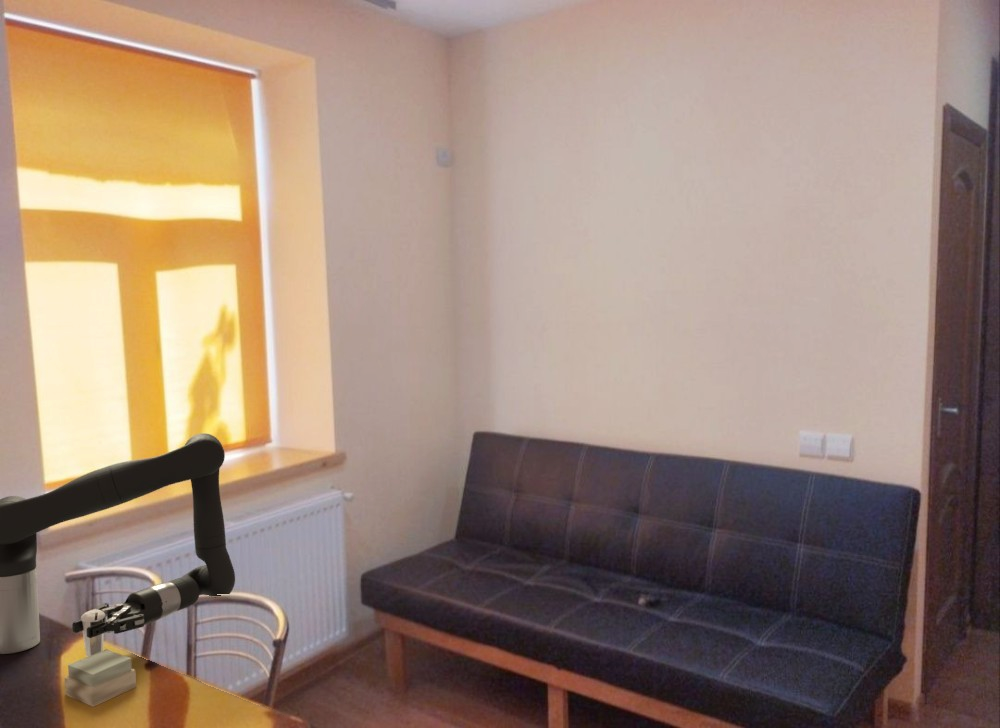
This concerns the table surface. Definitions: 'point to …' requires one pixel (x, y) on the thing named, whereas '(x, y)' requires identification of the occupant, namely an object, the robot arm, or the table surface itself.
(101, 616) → the milkshake
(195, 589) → the robot arm
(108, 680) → the tower base
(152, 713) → the table surface
